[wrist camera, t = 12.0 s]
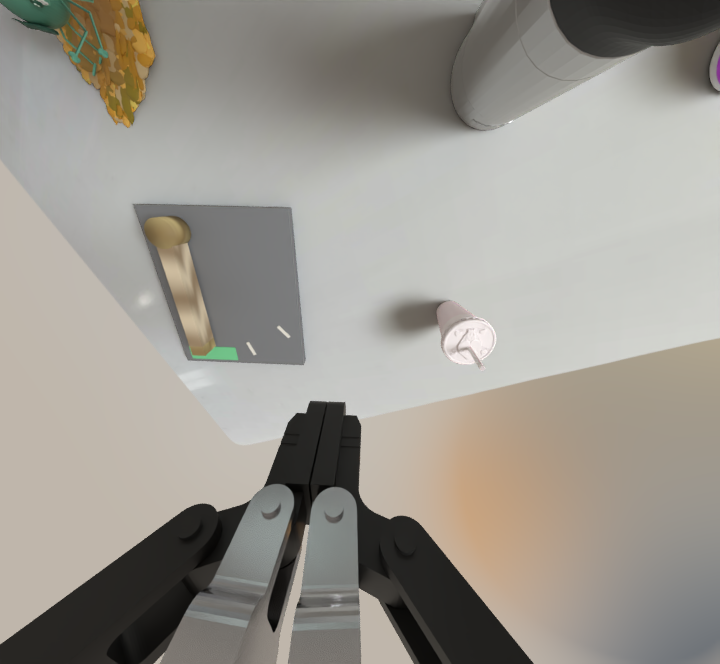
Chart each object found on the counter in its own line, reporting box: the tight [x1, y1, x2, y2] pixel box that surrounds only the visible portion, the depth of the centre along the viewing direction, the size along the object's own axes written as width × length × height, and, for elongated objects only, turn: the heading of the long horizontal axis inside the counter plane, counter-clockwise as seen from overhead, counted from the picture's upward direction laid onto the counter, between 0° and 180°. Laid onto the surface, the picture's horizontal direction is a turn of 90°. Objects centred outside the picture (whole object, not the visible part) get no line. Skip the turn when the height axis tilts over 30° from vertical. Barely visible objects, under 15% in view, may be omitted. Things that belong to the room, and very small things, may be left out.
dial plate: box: [133, 204, 305, 365], centre depth 39 cm, size 24×20×2 cm
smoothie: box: [436, 301, 496, 371], centre depth 34 cm, size 6×6×14 cm
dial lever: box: [144, 216, 216, 356], centre depth 36 cm, size 19×4×3 cm, turn 179°
